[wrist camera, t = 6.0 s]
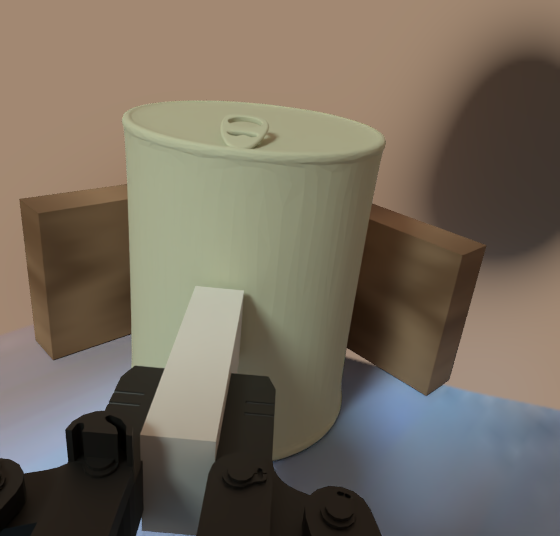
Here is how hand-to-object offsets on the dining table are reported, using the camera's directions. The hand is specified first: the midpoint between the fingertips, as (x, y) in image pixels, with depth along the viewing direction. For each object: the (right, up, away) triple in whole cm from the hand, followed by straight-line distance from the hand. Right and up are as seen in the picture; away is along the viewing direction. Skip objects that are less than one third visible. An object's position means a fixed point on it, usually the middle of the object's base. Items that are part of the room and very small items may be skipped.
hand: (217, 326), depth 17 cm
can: (0, -4, +7) cm, 8 cm away
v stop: (0, -1, +12) cm, 13 cm away
